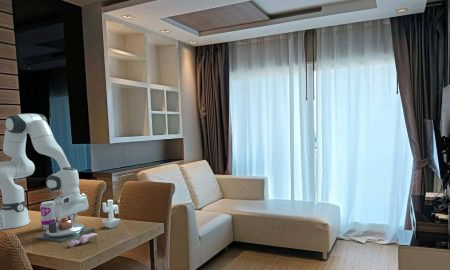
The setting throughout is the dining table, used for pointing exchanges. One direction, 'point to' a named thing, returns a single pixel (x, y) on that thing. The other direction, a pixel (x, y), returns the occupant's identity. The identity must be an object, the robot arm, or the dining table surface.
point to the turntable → (55, 232)
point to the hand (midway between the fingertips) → (72, 221)
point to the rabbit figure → (82, 239)
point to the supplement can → (47, 214)
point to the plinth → (65, 238)
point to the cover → (64, 224)
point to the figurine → (110, 214)
